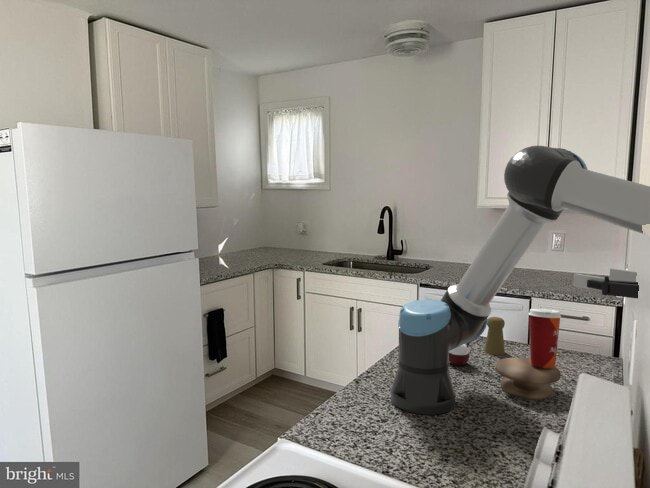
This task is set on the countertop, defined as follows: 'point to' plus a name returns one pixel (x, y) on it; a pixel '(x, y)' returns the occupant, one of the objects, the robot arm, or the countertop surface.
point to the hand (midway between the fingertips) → (593, 276)
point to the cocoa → (459, 355)
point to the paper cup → (544, 337)
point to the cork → (495, 336)
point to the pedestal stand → (526, 378)
